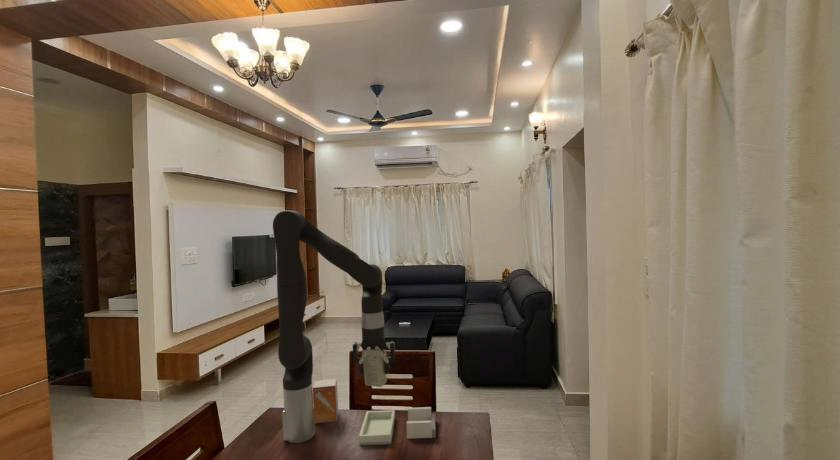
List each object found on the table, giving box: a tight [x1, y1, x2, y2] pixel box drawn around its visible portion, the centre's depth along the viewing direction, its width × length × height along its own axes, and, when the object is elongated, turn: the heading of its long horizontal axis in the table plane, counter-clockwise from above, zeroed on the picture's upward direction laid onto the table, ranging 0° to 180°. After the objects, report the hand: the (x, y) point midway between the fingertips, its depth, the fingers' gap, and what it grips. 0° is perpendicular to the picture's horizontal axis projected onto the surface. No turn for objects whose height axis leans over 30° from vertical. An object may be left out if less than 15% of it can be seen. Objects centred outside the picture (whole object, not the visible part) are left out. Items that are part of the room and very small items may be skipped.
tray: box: [358, 409, 396, 446], centre depth 131 cm, size 10×16×3 cm, turn 179°
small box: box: [312, 378, 339, 424], centre depth 141 cm, size 8×6×13 cm
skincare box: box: [361, 349, 388, 388], centre depth 130 cm, size 6×4×12 cm
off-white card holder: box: [406, 406, 437, 440], centre depth 130 cm, size 9×10×5 cm
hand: (374, 373), depth 130 cm, fingers closed on skincare box, 7 cm apart
